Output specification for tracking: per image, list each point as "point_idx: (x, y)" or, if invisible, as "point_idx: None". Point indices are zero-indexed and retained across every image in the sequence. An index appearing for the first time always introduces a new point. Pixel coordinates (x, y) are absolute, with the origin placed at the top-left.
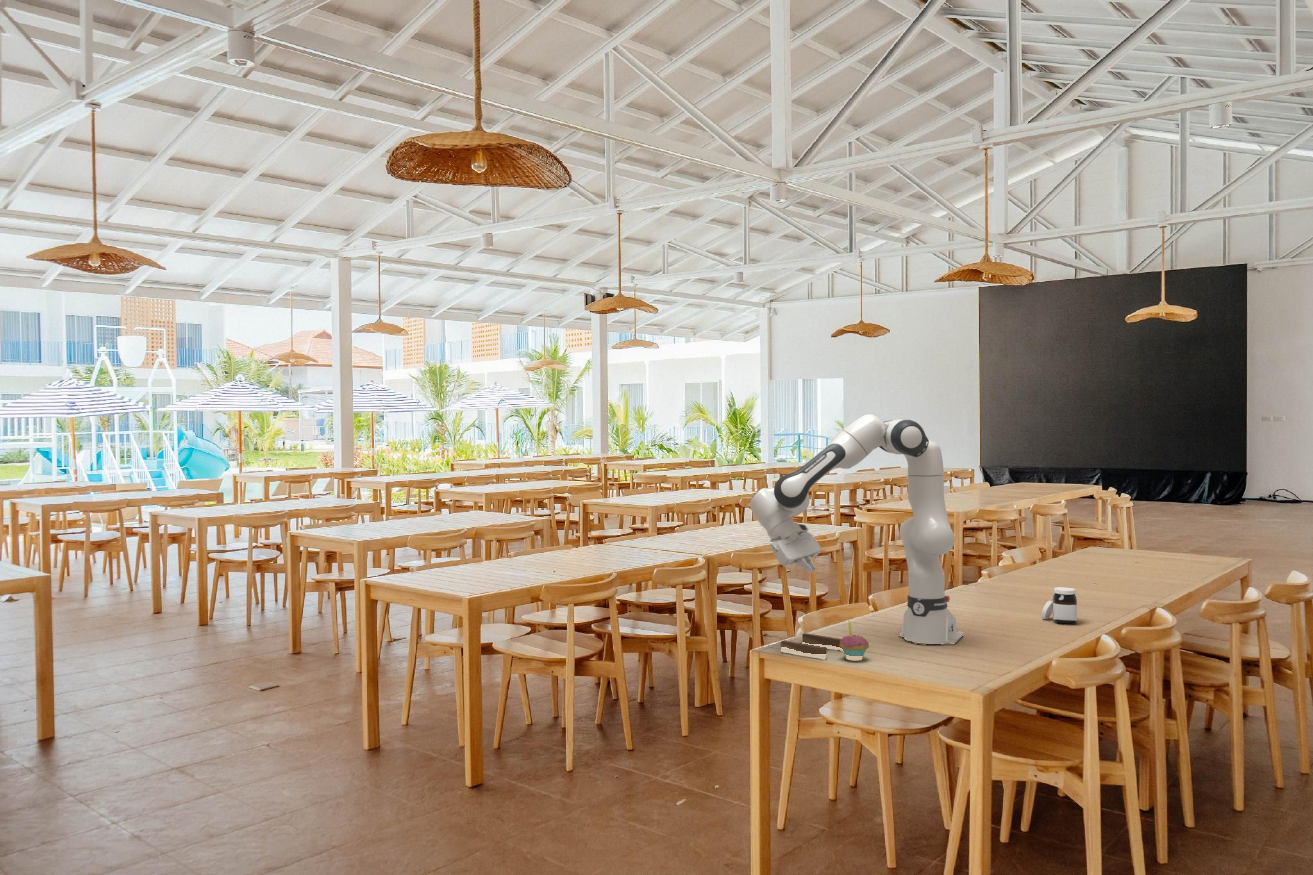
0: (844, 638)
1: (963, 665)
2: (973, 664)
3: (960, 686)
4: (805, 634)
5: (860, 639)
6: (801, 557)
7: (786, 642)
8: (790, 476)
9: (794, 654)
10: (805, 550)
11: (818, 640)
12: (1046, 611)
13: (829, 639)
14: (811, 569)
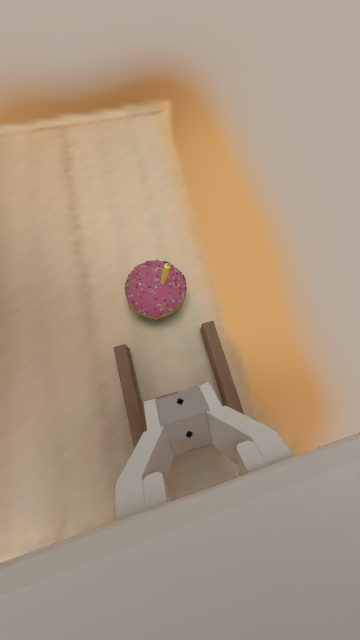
0: (174, 291)
1: (52, 178)
2: (35, 174)
3: (155, 126)
4: None
5: (155, 265)
6: (313, 449)
7: None
8: None
9: None
10: (189, 583)
11: (141, 413)
12: None
13: (133, 383)
14: (206, 382)
